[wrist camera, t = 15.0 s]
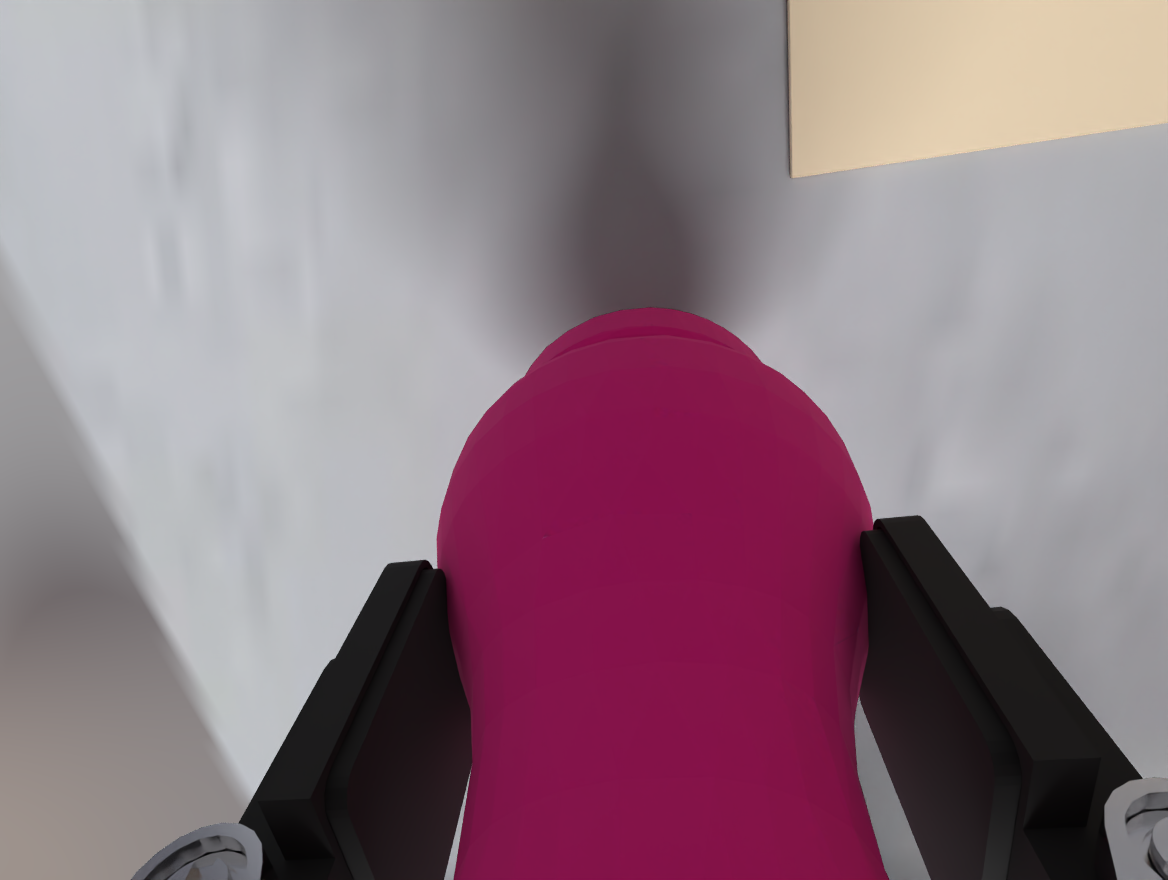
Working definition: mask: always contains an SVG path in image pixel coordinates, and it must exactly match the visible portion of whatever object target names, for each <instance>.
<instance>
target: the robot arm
mask: <svg viewBox="0 0 1168 880" xmlns="http://www.w3.org/2000/svg"><path fill="white" fill-rule="evenodd" d="M860 551H861V557H862V564H863V570H864V577H865V583H866V590H867V608H868V639H869V647H868V655H867V659H866V664H865V669H864V673H863V678H862V683H861V688H860V692H859V697H860V701H861V705H862V707H863V710H864V713H865V715H866V718H867V720H868V723H869V725H870V728H871V730H872V733H873V735H874V738H875V740H876V743H877V745H878V748H879V750H880V753H881V755H882V758H883V760H884V763H885V765H886V768H887V770H888V773H889V775H890V778H891V780H892V783H893V785H894V788H895V790H896V793H897V795H898V798H899V800H900V803H901V805H902V808H903V810H904V813H905V815H906V818H907V820H908V823H909V825H910V828H911V830H912V833H913V835H914V838H915V840H916V843H917V845H918V848H919V850H920V853H921V855H922V858H923V860H924V863H925V865H926V868H927V870H928V873H929V875H930V878H931V880H1168V779H1167V778H1157V777H1152V778H1145V779H1143V778H1142V777H1141V776H1140V774H1139V773H1138V772H1137V771H1136V769H1135V768H1134V767H1133V765H1132V764H1131V763H1130V762H1129V760H1128V759H1127V758H1126V756H1125V755H1124V754H1123V753H1122V751H1121V750H1120V749H1119V748H1118V746H1117V745H1116V744H1115V742H1114V741H1113V740H1112V739H1111V737H1110V736H1109V735H1108V733H1107V732H1106V731H1105V730H1104V728H1103V727H1102V726H1101V725H1100V723H1099V722H1098V721H1097V719H1096V718H1095V717H1094V716H1093V714H1092V713H1091V712H1090V710H1089V709H1088V708H1087V707H1086V705H1085V704H1084V703H1083V702H1082V700H1081V699H1080V698H1079V696H1078V695H1077V694H1076V693H1075V691H1074V690H1073V689H1072V688H1071V686H1070V685H1069V684H1068V682H1067V681H1066V680H1065V679H1064V677H1063V676H1062V675H1061V673H1060V672H1059V671H1058V670H1057V668H1056V667H1055V666H1054V665H1053V663H1052V662H1051V661H1050V659H1049V658H1048V657H1047V656H1046V654H1045V653H1044V652H1043V650H1042V649H1041V648H1040V647H1039V645H1038V644H1037V643H1036V642H1035V640H1034V639H1033V638H1032V636H1031V635H1030V634H1029V633H1028V631H1027V630H1026V629H1025V628H1024V626H1023V625H1022V624H1021V622H1020V621H1019V620H1018V619H1017V617H1016V616H1014V615H1013V614H1012V613H1011V612H1010V611H1009V610H1008V609H1005V608H1003V607H994V608H990V607H989V606H988V604H987V603H986V602H985V600H984V599H983V598H982V596H981V595H980V594H979V592H978V591H977V590H976V588H975V587H974V586H973V584H972V583H971V581H970V580H969V579H968V577H967V576H966V575H965V573H964V572H963V571H962V569H961V568H960V567H959V565H958V564H957V563H956V561H955V560H954V559H953V557H952V556H951V555H950V553H949V552H948V551H947V549H946V548H945V547H944V545H943V544H942V543H941V541H940V540H939V538H938V537H937V536H936V534H935V533H934V532H933V530H932V529H931V528H930V526H929V525H928V524H927V522H926V521H925V520H924V519H923V518H922V517H921V516H918V515H916V516H905V517H894V518H883V519H877V520H876V521H875V522H874V525H873V530H867V531H862V532H861V535H860ZM471 766H472V736H471V711H470V707H469V704H468V701H467V698H466V694H465V691H464V688H463V685H462V682H461V679H460V676H459V671H458V667H457V663H456V659H455V654H454V650H453V646H452V641H451V637H450V632H449V623H448V613H447V591H446V577H445V574H444V572H443V570H442V569H440V568H439V569H433V568H432V566H431V564H430V563H429V561H427V560H419V561H408V562H397V563H390V564H388V565H387V566H386V567H385V568H384V570H383V572H382V574H381V576H380V577H379V579H378V581H377V583H376V585H375V587H374V588H373V590H372V592H371V594H370V596H369V598H368V599H367V601H366V603H365V605H364V607H363V609H362V610H361V612H360V614H359V616H358V618H357V620H356V621H355V623H354V625H353V627H352V629H351V631H350V632H349V634H348V636H347V638H346V640H345V642H344V643H343V645H342V647H341V649H340V651H339V653H338V654H337V656H336V658H335V659H333V660H331V661H330V662H329V663H328V665H327V666H326V667H325V669H324V670H323V672H322V674H321V676H320V678H319V679H318V681H317V683H316V685H315V687H314V688H313V690H312V692H311V694H310V696H309V697H308V699H307V701H306V703H305V705H304V706H303V708H302V710H301V712H300V714H299V715H298V717H297V719H296V721H295V723H294V724H293V726H292V728H291V730H290V732H289V733H288V735H287V737H286V739H285V741H284V742H283V744H282V746H281V748H280V750H279V751H278V753H277V755H276V757H275V758H274V760H273V762H272V764H271V766H270V767H269V769H268V771H267V773H266V775H265V776H264V778H263V780H262V782H261V784H260V785H259V787H258V789H257V791H256V793H255V794H254V796H253V798H252V800H251V802H250V803H249V805H248V807H247V809H246V811H245V812H244V814H243V816H242V818H241V820H240V821H239V823H238V824H237V823H219V824H214V825H210V826H206V827H201V828H199V829H197V830H195V831H192V832H190V833H188V834H186V835H184V836H181V837H179V838H178V839H176V840H175V841H173V842H172V843H170V844H169V845H167V846H166V847H165V848H163V849H162V850H160V851H159V852H157V853H156V854H155V855H154V856H153V857H152V858H151V859H150V860H149V861H148V862H147V863H145V865H144V866H142V867H141V868H140V869H139V870H138V871H137V872H136V873H135V875H134V876H133V877H132V879H131V880H444V877H445V873H446V869H447V865H448V860H449V856H450V852H451V848H452V844H453V840H454V836H455V832H456V828H457V823H458V819H459V815H460V811H461V807H462V803H463V799H464V795H465V791H466V786H467V782H468V778H469V774H470V770H471Z"/></svg>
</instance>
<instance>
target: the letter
mask: <svg viewBox="0 0 1168 880" xmlns="http://www.w3.org/2000/svg"><path fill="white" fill-rule="evenodd" d="M787 8H788V67H789V126H790V177H791V178H797V177H804V176H811V175H818V174H824V173H831V172H838V171H845V170H851V169H858V168H865V167H872V166H878V165H885V164H892V163H899V162H906V161H912V160H919V159H926V158H933V157H939V156H946V155H953V154H960V153H966V152H973V151H980V150H987V149H994V148H1000V147H1007V146H1014V145H1021V144H1027V143H1034V142H1041V141H1048V140H1054V139H1061V138H1068V137H1075V136H1081V135H1088V134H1095V133H1102V132H1109V131H1115V130H1122V129H1129V128H1136V127H1142V126H1149V125H1156V124H1163V123H1168V0H787Z"/></svg>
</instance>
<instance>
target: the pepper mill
mask: <svg viewBox="0 0 1168 880" xmlns="http://www.w3.org/2000/svg"><path fill="white" fill-rule="evenodd" d="M867 530H873V519H872V513H871V507H870V504H869V501H868V499H867V496H866V494H865V491H864V488H863V486H862V483H861V481H860V478H859V476H858V473H857V471H856V469H855V467H854V464H853V462H852V460H851V458H850V455H849V453H848V451H847V449H846V446H845V444H844V442H843V440H842V439H841V437H840V436H839V434H838V433H837V431H836V430H835V428H834V427H833V425H832V423H831V422H830V420H829V419H828V417H827V416H826V415H825V414H824V413H823V412H822V411H821V409H820V408H819V407H818V406H817V405H816V404H815V403H814V402H813V401H812V400H811V399H810V398H809V397H808V396H807V395H806V394H805V392H803V391H802V390H801V389H800V388H798V387H797V386H796V385H795V384H794V383H792V382H791V381H790V380H789V379H787V378H786V377H785V376H784V375H782V374H781V373H779V372H778V371H776V370H774V369H772V368H770V367H769V366H767V365H765V364H763V363H762V362H761V361H760V360H759V358H758V357H757V356H756V355H755V354H754V352H753V351H752V350H751V349H750V348H749V347H748V346H747V345H746V344H744V343H743V342H742V341H741V340H740V339H739V338H738V337H737V336H735V335H734V334H732V333H731V332H729V331H728V330H726V329H725V328H723V327H721V326H719V325H717V324H715V323H713V322H712V321H710V320H708V319H705V318H702V317H699V316H697V315H694V314H691V313H686V312H682V311H678V310H674V309H664V308H652V307H649V308H638V309H628V310H619V311H616V312H612V313H608V314H604V315H601V316H597V317H594V318H592V319H590V320H588V321H586V322H584V323H582V324H580V325H578V326H576V327H574V328H573V329H571V330H569V331H567V332H566V333H564V334H563V335H562V336H561V337H559V338H558V339H557V340H555V341H554V342H553V343H551V344H550V345H549V346H548V347H546V348H545V350H544V351H543V352H542V353H541V354H540V356H539V357H538V358H537V359H536V360H535V362H534V363H533V364H532V365H531V367H530V368H529V370H528V372H527V373H526V375H525V376H524V377H523V378H521V379H520V380H519V381H517V382H516V383H514V384H513V385H512V386H511V387H510V388H509V389H508V390H507V391H506V392H505V393H504V394H503V395H502V396H501V397H500V398H499V399H498V400H497V401H496V402H495V403H494V404H493V405H492V406H491V407H490V408H489V409H488V410H487V411H486V413H485V414H484V415H483V417H482V418H481V420H480V421H479V423H478V424H477V425H476V427H475V428H474V430H473V431H472V432H471V434H470V435H469V437H468V439H467V441H466V443H465V445H464V448H463V450H462V452H461V454H460V456H459V459H458V461H457V463H456V465H455V467H454V470H453V473H452V476H451V479H450V483H449V486H448V489H447V492H446V496H445V499H444V502H443V505H442V508H441V514H440V520H439V527H438V533H437V566H438V569H439V568H440V569H442V570H443V572H444V574H445V577H446V591H447V613H448V623H449V632H450V637H451V641H452V646H453V650H454V654H455V659H456V663H457V667H458V671H459V676H460V679H461V682H462V685H463V688H464V691H465V694H466V698H467V701H468V704H469V707H470V711H471V736H472V768H471V774H470V780H469V787H468V793H467V799H466V805H465V812H464V818H463V824H462V830H461V837H460V843H459V849H458V855H457V862H456V868H455V874H454V880H889V878H888V876H887V873H886V871H885V869H884V865H883V862H882V858H881V855H880V851H879V848H878V844H877V841H876V837H875V834H874V830H873V827H872V823H871V820H870V816H869V813H868V809H867V806H866V802H865V799H864V795H863V792H862V788H861V785H860V781H859V778H858V774H857V761H856V747H855V733H854V721H855V712H856V706H857V702H858V697H859V692H860V688H861V683H862V678H863V673H864V669H865V664H866V659H867V655H868V647H869V639H868V608H867V590H866V583H865V577H864V570H863V564H862V557H861V551H860V535H861V532H862V531H867Z"/></svg>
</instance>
